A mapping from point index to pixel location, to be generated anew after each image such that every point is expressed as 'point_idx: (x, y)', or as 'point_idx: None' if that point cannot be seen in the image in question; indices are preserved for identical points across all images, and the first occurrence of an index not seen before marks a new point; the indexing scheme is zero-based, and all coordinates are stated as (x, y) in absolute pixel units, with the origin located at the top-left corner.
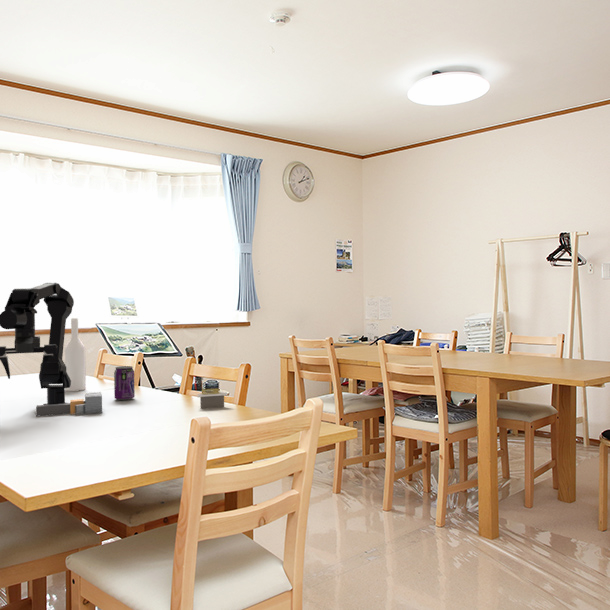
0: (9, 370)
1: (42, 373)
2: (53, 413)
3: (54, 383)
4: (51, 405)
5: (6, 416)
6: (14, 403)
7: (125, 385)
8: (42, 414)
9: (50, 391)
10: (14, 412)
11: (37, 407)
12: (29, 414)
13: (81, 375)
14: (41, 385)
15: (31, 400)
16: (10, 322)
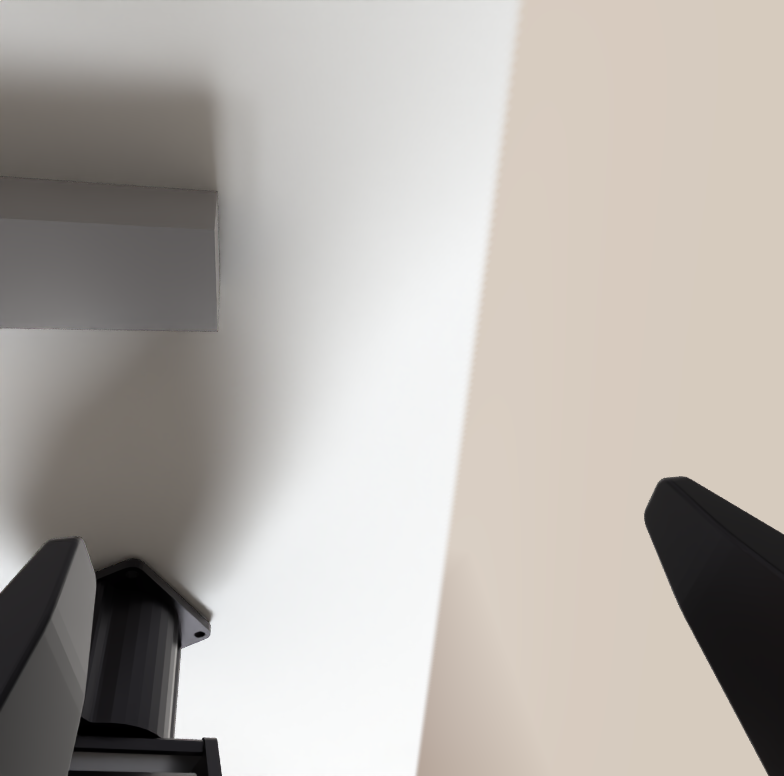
0: (729, 659)
1: (18, 597)
2: (22, 184)
3: (71, 770)
4: (27, 249)
5: (470, 317)
6: (382, 706)
7: None
8: (150, 190)
9: (132, 698)
10: (400, 460)
11: (199, 224)
12: (289, 329)
13: None
14: (211, 762)
15: (295, 755)
16: None
